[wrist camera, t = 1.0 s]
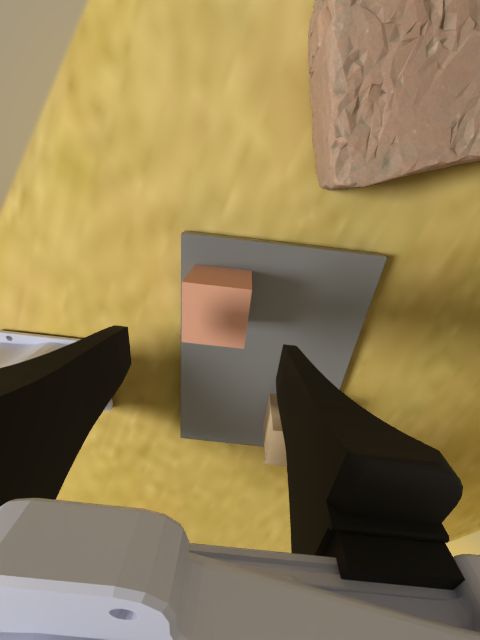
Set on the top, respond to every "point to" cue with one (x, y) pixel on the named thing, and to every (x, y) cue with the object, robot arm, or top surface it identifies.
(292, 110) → the top surface
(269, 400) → the maple block
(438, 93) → the brick
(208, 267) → the terracotta block
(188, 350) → the plate
